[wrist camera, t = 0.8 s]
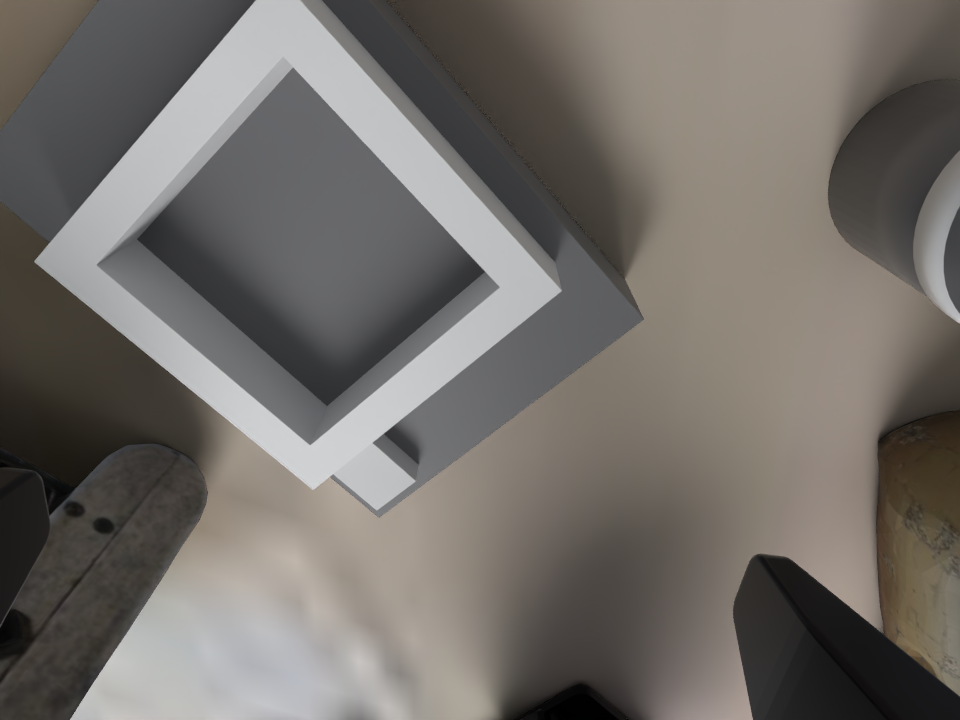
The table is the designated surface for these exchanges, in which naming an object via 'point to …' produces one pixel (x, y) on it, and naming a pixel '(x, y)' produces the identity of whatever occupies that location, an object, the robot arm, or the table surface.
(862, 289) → the table surface
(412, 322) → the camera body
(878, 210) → the lens
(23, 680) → the vintage camera
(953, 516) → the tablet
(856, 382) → the table surface
